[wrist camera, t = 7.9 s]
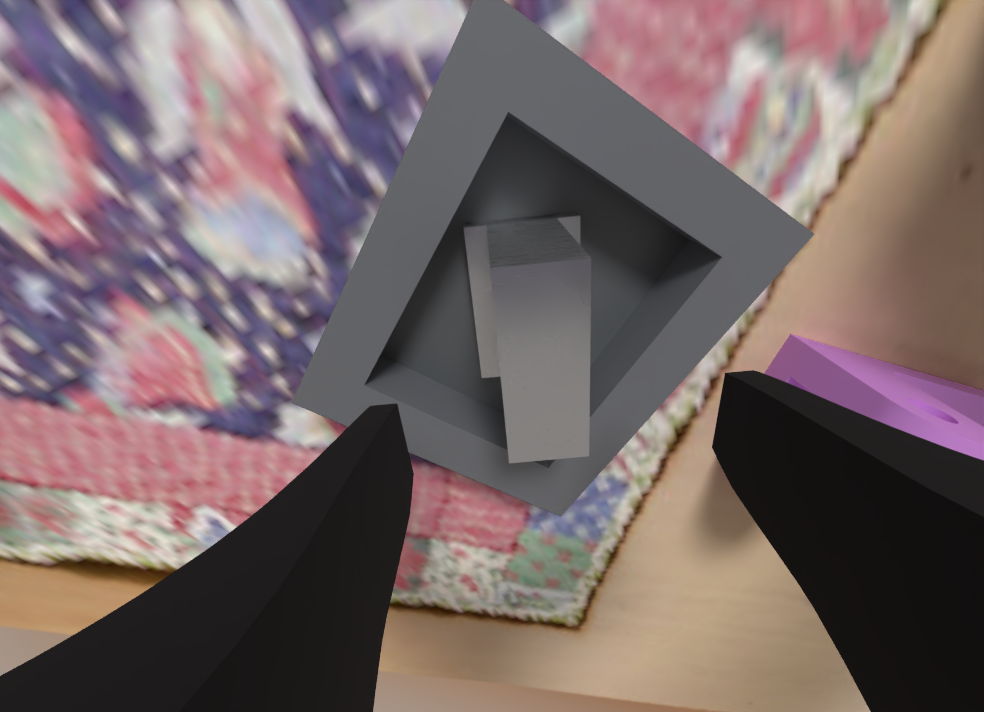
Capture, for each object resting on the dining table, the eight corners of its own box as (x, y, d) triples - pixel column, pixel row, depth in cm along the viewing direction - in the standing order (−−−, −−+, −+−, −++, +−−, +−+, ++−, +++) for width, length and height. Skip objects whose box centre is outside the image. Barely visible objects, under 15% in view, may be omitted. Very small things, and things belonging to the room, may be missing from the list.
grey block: (575, 211, 16) (625, 254, 10) (576, 359, 18) (616, 453, 13) (464, 223, 16) (456, 271, 10) (481, 368, 18) (482, 465, 13)
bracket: (721, 433, 21) (821, 558, 15) (788, 332, 19) (939, 432, 13) (937, 486, 23) (1102, 615, 17) (1022, 401, 21) (1251, 516, 15)
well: (760, 216, 16) (814, 234, 14) (550, 468, 22) (560, 516, 19) (480, 12, 13) (480, -17, 11) (318, 363, 19) (291, 402, 16)
